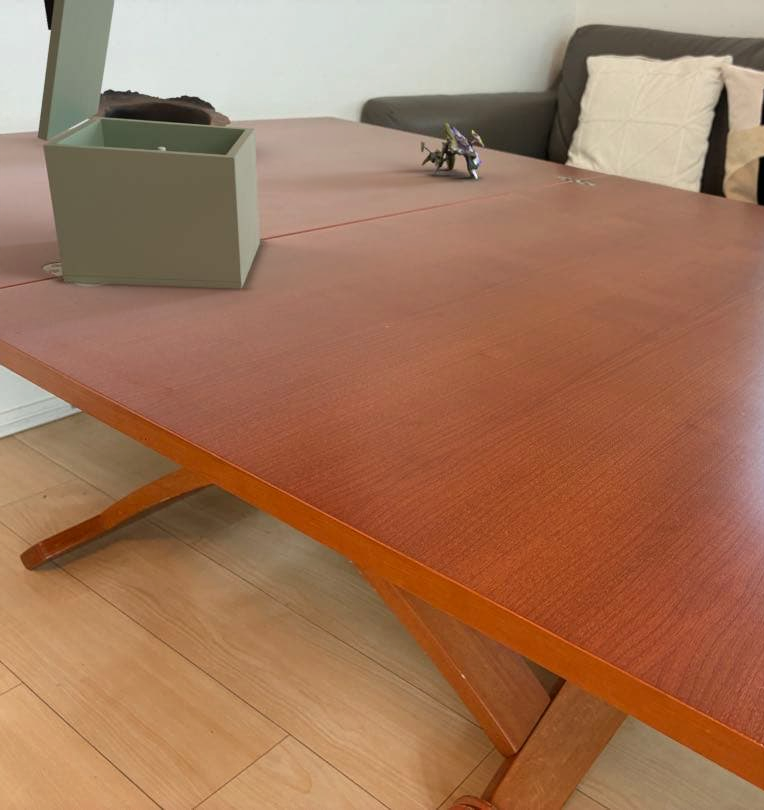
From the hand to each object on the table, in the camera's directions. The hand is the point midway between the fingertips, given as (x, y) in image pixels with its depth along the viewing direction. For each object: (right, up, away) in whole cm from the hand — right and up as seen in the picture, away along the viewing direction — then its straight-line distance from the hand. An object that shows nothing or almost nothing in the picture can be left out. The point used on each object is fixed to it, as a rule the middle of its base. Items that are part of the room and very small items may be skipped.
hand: (60, 29), depth 87 cm
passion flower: (+33, +4, +71) cm, 78 cm away
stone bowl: (-19, +6, +65) cm, 68 cm away
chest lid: (+2, 0, +1) cm, 2 cm away
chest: (+6, -22, +13) cm, 26 cm away
